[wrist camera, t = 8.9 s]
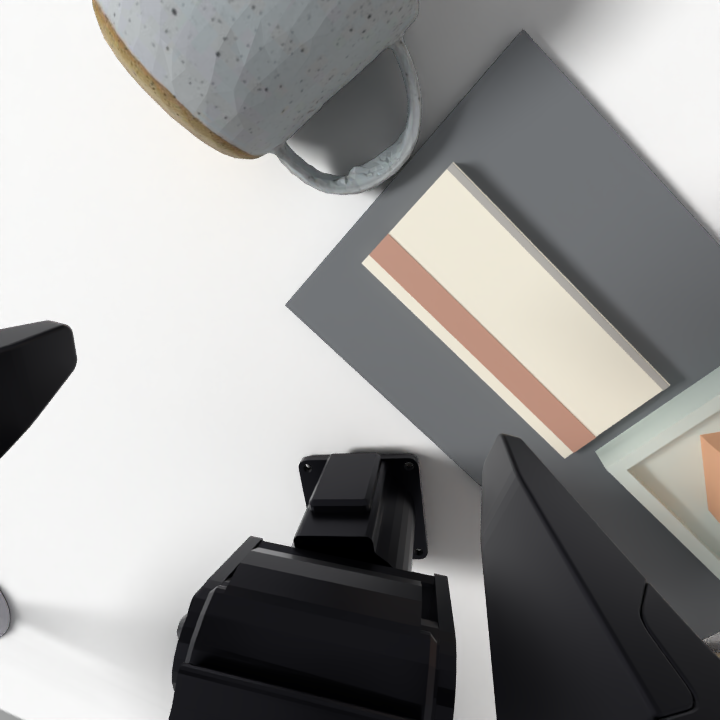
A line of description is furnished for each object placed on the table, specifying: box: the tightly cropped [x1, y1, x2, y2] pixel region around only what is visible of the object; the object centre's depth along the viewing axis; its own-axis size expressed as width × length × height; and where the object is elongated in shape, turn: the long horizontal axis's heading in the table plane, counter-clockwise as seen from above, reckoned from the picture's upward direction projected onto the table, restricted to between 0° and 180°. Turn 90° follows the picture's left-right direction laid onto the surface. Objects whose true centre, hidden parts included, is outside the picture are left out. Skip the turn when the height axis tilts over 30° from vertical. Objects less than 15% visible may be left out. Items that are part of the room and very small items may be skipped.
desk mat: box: [285, 30, 720, 640], centre depth 21 cm, size 14×28×1 cm, turn 47°
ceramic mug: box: [92, 0, 422, 195], centre depth 15 cm, size 11×8×8 cm
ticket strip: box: [362, 162, 670, 459], centre depth 19 cm, size 5×13×1 cm, turn 47°
